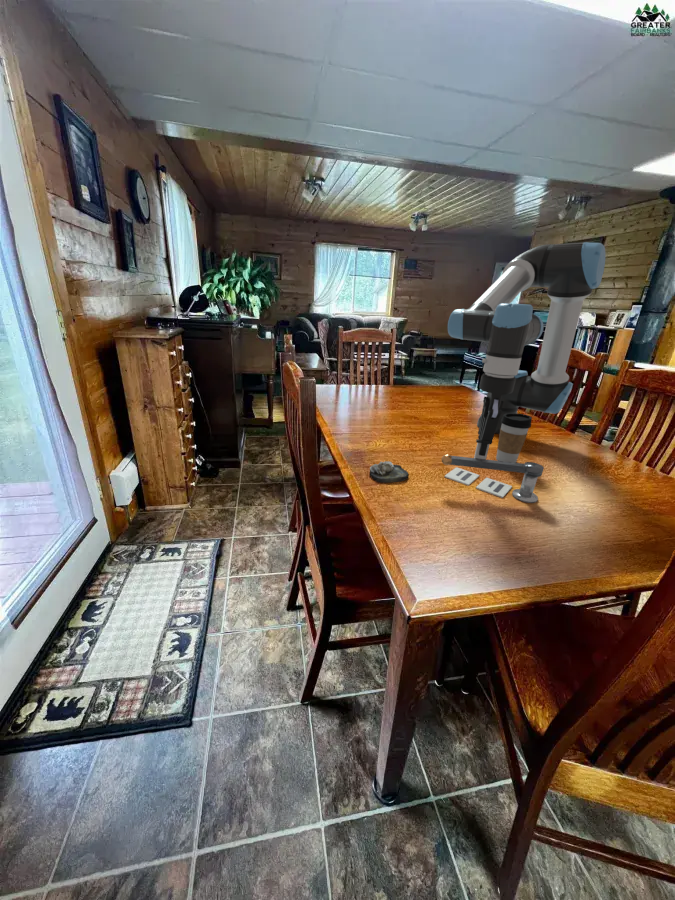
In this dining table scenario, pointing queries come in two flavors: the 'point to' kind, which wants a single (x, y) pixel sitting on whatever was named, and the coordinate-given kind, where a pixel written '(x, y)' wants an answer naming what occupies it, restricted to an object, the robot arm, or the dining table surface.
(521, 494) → the post
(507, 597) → the dining table surface
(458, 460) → the swing arm
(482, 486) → the label
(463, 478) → the label
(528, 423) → the coffee cup
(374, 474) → the dark grey lumpy mound
